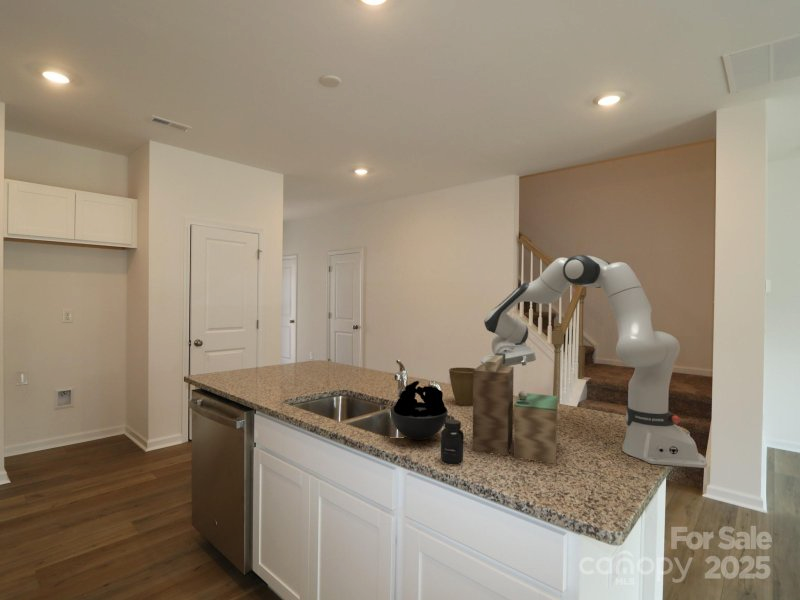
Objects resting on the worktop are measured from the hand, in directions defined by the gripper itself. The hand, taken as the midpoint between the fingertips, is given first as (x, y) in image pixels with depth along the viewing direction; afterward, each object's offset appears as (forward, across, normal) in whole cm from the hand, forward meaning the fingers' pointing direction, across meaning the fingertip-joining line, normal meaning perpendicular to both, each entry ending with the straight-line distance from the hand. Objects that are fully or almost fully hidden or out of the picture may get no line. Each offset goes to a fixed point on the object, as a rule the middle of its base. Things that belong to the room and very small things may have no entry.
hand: (511, 366), depth 154 cm
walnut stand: (+22, -13, +18) cm, 31 cm away
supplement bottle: (+35, -26, +12) cm, 46 cm away
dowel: (+13, -6, -6) cm, 16 cm away
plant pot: (-32, -22, +26) cm, 47 cm away
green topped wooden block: (+24, 0, +21) cm, 31 cm away
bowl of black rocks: (+17, -38, +13) cm, 43 cm away
